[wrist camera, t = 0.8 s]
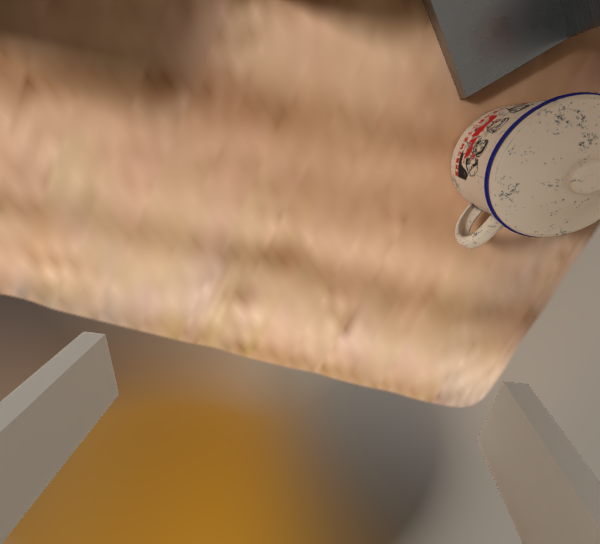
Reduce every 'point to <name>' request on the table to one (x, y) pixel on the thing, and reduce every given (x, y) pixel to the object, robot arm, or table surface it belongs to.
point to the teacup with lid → (530, 169)
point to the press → (503, 34)
